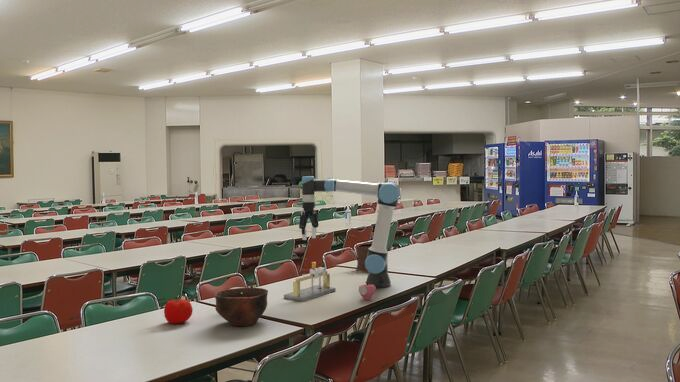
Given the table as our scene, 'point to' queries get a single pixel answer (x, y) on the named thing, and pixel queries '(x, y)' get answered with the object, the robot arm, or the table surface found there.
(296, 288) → the grey and yellow frame
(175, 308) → the tomato
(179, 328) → the table surface
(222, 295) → the bowl
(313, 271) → the slider leg
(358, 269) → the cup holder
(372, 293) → the apple
